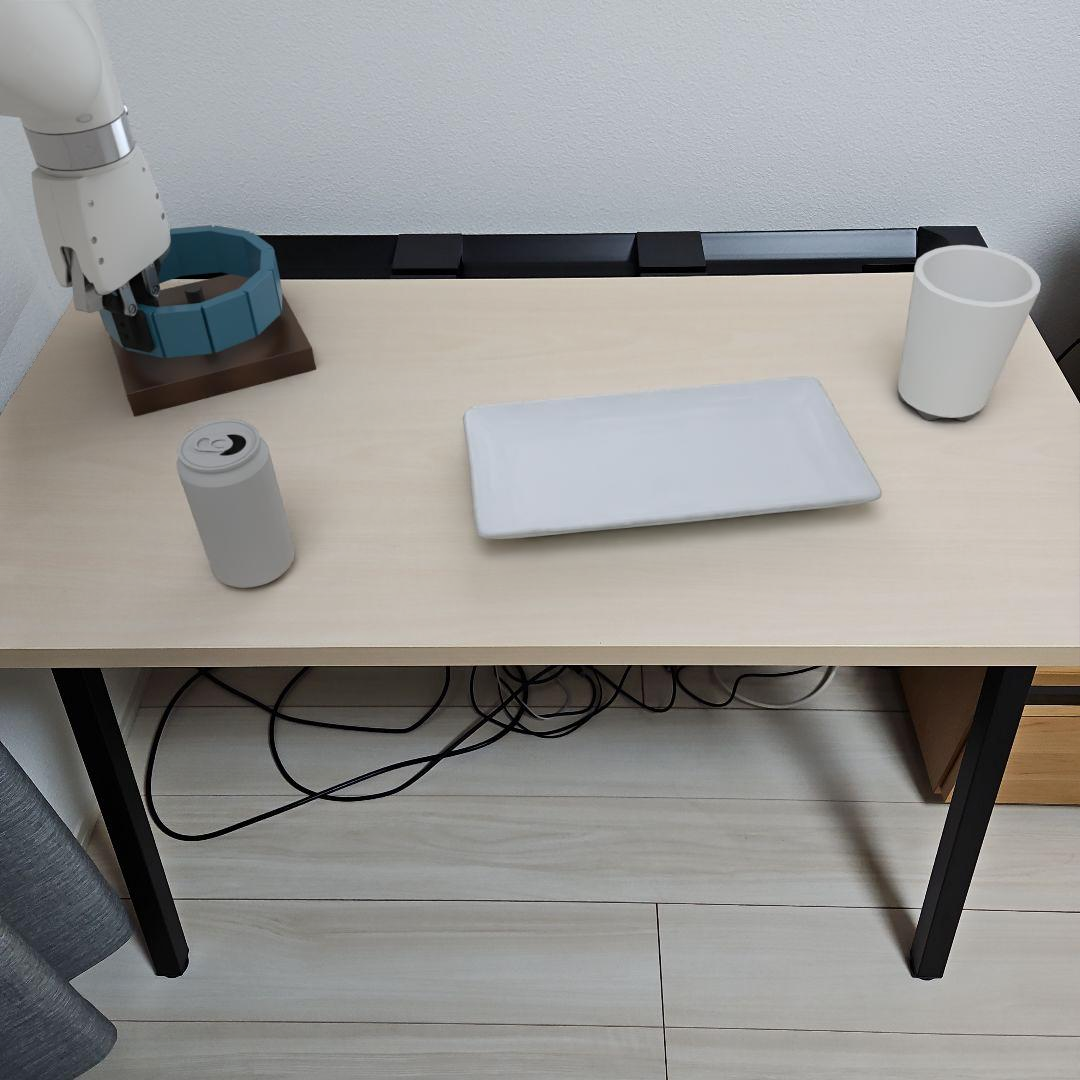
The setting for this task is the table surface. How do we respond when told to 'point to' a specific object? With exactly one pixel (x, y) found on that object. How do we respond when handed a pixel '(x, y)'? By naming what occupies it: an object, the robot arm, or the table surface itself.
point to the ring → (224, 314)
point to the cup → (962, 327)
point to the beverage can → (235, 502)
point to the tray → (660, 458)
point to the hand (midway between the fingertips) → (145, 341)
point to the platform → (213, 356)
